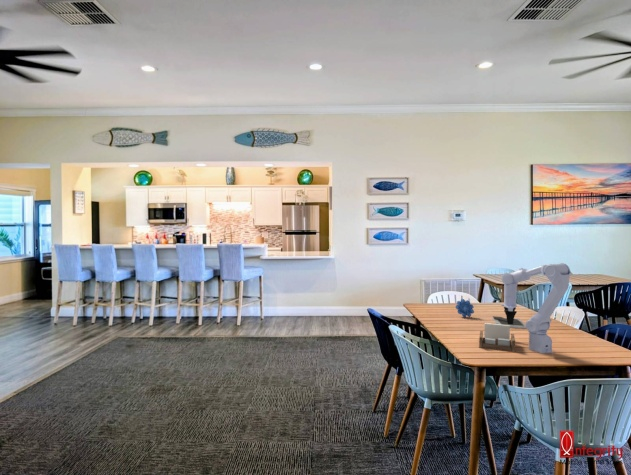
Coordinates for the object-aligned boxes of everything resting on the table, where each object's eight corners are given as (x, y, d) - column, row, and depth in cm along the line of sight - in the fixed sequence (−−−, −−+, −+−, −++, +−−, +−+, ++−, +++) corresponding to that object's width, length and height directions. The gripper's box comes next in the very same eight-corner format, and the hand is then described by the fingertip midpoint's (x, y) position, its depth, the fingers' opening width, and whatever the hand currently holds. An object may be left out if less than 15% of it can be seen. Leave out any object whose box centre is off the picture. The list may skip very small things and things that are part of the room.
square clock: (492, 320, 257) (499, 328, 237) (492, 316, 257) (499, 323, 237) (519, 322, 253) (528, 330, 233) (519, 317, 253) (528, 325, 233)
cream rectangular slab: (509, 341, 206) (509, 325, 206) (484, 338, 211) (484, 323, 211) (509, 340, 208) (509, 325, 207) (484, 337, 212) (484, 322, 212)
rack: (515, 353, 187) (515, 341, 187) (478, 349, 194) (478, 337, 194) (513, 340, 209) (513, 329, 209) (480, 336, 216) (480, 326, 216)
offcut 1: (495, 348, 192) (495, 340, 192) (485, 347, 194) (485, 339, 194) (495, 347, 195) (495, 338, 195) (485, 345, 197) (485, 337, 196)
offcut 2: (509, 350, 190) (509, 340, 190) (498, 348, 192) (498, 339, 192) (509, 348, 192) (509, 339, 192) (497, 347, 194) (498, 338, 194)
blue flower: (456, 318, 261) (456, 299, 261) (454, 315, 268) (455, 298, 267) (475, 318, 259) (475, 300, 258) (473, 316, 265) (473, 298, 265)
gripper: (501, 293, 213) (500, 318, 213) (501, 298, 199) (501, 324, 200) (516, 294, 210) (515, 320, 210) (517, 299, 196) (517, 326, 197)
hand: (509, 322), depth 205 cm, fingers open, 7 cm apart
